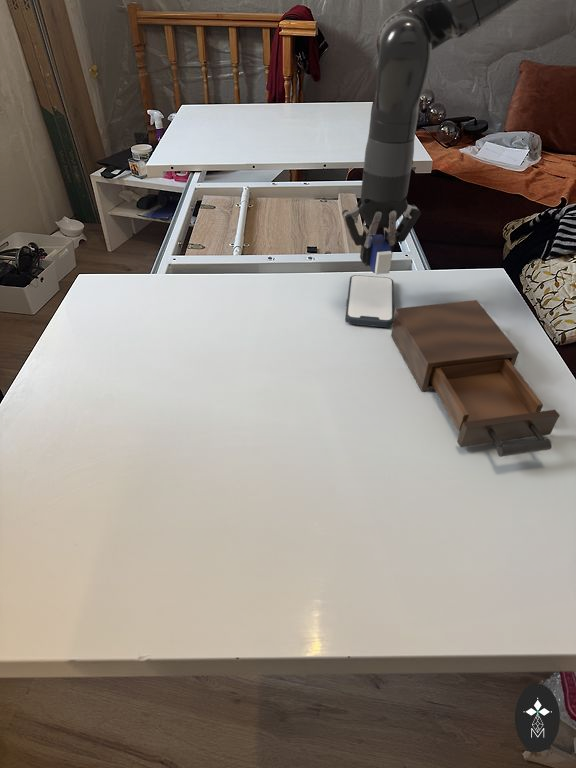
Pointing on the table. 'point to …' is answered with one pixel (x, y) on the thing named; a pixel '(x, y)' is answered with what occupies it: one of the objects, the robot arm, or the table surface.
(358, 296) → the phone case
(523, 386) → the drawer
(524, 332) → the table surface
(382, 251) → the eraser
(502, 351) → the cabinet
